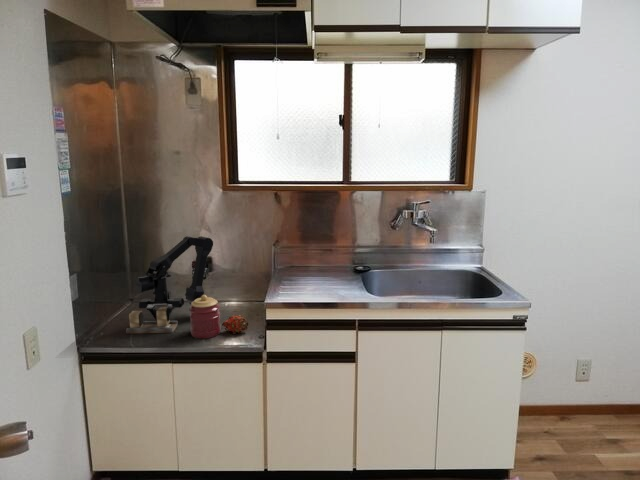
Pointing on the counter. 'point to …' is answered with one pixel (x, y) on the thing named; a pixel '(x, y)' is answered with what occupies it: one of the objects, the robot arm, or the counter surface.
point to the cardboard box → (162, 316)
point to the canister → (205, 317)
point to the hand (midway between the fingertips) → (162, 321)
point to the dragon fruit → (236, 324)
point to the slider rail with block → (147, 325)
